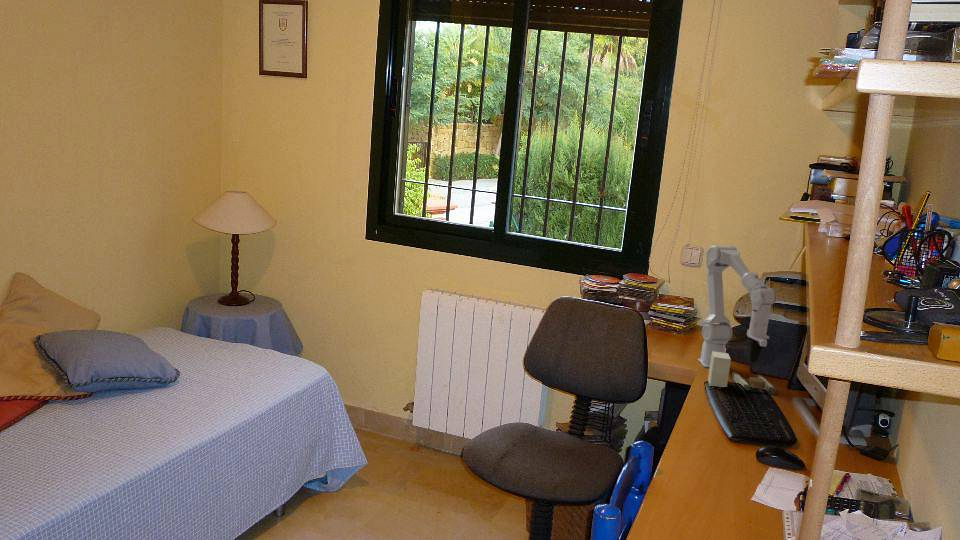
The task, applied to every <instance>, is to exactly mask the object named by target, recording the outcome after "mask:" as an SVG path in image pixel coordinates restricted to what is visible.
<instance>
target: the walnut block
mask: <svg viewBox="0 0 960 540" xmlns="http://www.w3.org/2000/svg"><path fill="white" fill-rule="evenodd" d="M748 379H749V381H748V384H749V385H750V386H751V387H752V388H759V389H763V390H764V391H765V390H766V389H765V384H766V382H765V381H764V380H763V379H762V378H756V377H750V376H749V378H748Z"/></svg>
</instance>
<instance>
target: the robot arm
mask: <svg viewBox="0 0 960 540" xmlns="http://www.w3.org/2000/svg"><path fill="white" fill-rule="evenodd" d="M705 261H706V263H705V264H706V284H707V304H708V316H707V317H706V318H705V319H704V320H703V321H702V329H701V336H702V338H703V343H702V346H701V347H702V348H701V353H700V358H697V360H698V362H699V363H700V364H701V365H702V366H703V367H704V368H710V362H711V355H712V351H714V352H721V353H726V352H725V351H726V344H728V343H729V341H730V340H731V339H732V336H733V328H732V326H731V320H730V319H729V318H728V317H727V316H726V315H725V305H724V304H725V302H724V301H725V299H724V284H723V283H724V282H723V272H724V271H725V270H726V269H727V268H729V267H731V268H732V269H733V271H735V273H736V274H737V275H738V276H739V277H740V278H741V282H740V283H741V284H742V286H743V287H744V288H745V289H746V290H747V292H748V294H750V301H751V309H752V310H751V316H750V322H749V328H748V329H747V330H746V336H747V337H748V338H747V339H746V340H745V341H746V343H747V349H748V360H749V362H754V363H757V362H758V359H759V356H760V354H761V352H763V349H765V347H767V346H768V341H767V340H770V336H769V335H767V332H768V326H769V321H770V315H771V309H772V305H774V304H775V303H776V301H777V292H776V291H775V289H774V288H772V287H769V286H767V284H766V283H764V282H763V280H762V279H761V278H760V277H759V274H758V273H755V272H751V271H750V269H749V268H748V267H747V265H746V264H745V262H744V261H743V260H742V258H741V252H740V251H739V250H738V248H737V247H736V246H734V245H715V244H714V245H711V246H709V248H708V249H707V250H706V252H705ZM749 338H750V339H749Z"/></svg>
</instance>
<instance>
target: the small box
mask: <svg viewBox="0 0 960 540" xmlns="http://www.w3.org/2000/svg"><path fill="white" fill-rule="evenodd" d="M731 362H732V359H731V357H730V354H729V353H727V352H724V353H721V352H714V351H712V355H711V362H710V367H709V370H708V378H707V382H708V385H709V387H710V386H718V387H727V388H728V381H729V377H730V376H729V375H730V369H731Z"/></svg>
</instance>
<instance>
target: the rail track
mask: <svg viewBox="0 0 960 540" xmlns="http://www.w3.org/2000/svg"><path fill="white" fill-rule="evenodd" d="M755 378H762V379H763V380H764V381H765V382H766V384H765V390H766V392H767V393H768V394H767V395H773V396H774V395H776V393H777V388H776V387H775V386H773V384H771V382H769V381H768V380H767V379H766V378H765V377H764V376H763V375H761V374H756V375H755ZM731 379H732V380H733V381H734V382H735V383H736V384H737V383H739V384H741V385H742V386H743V387H744V388H745V389H746V390H751V389H750V387H751V386H750V385H749V379H750V378H743V377H742V376H741V375H740V374H738V373H737V372H732V373H731Z"/></svg>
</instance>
